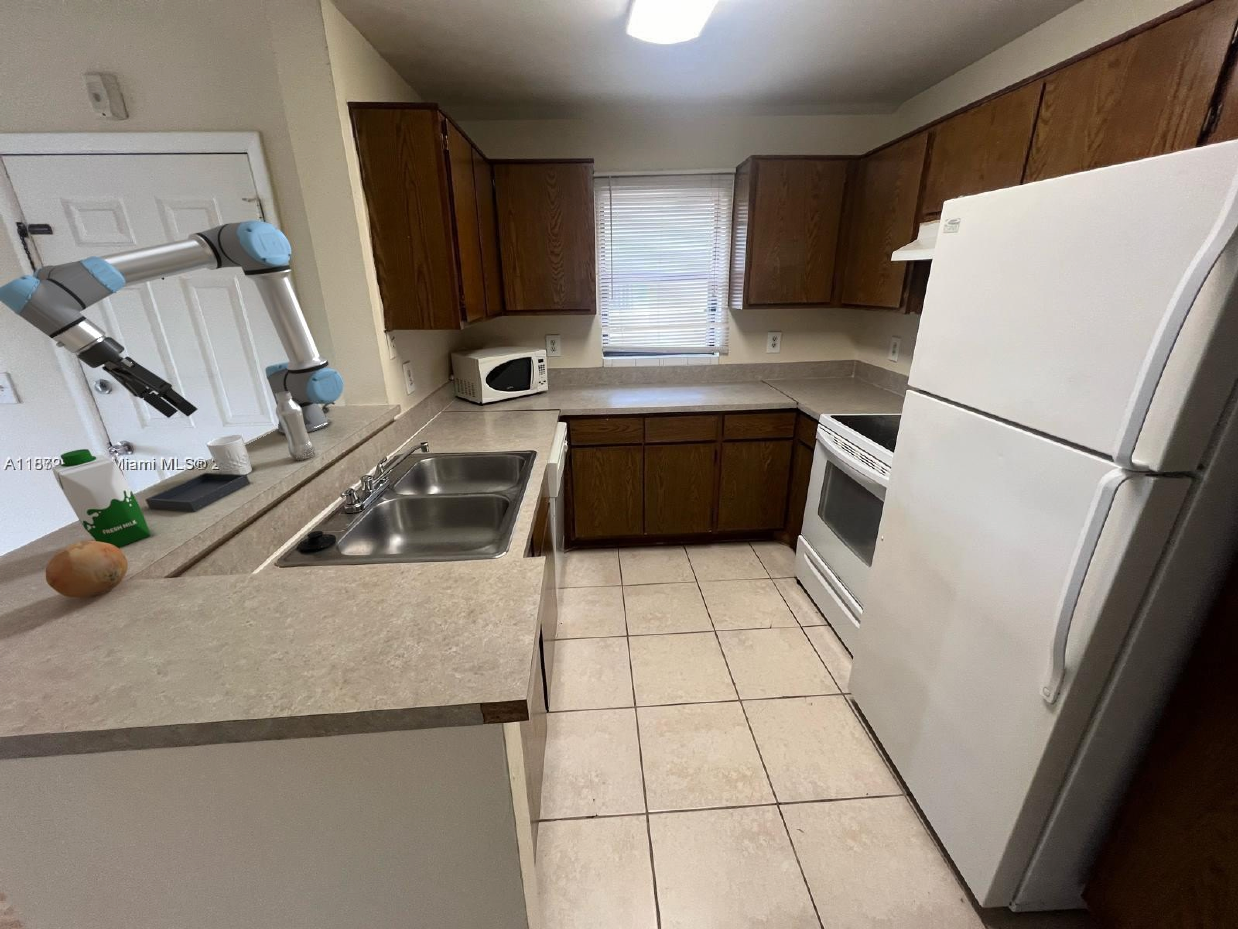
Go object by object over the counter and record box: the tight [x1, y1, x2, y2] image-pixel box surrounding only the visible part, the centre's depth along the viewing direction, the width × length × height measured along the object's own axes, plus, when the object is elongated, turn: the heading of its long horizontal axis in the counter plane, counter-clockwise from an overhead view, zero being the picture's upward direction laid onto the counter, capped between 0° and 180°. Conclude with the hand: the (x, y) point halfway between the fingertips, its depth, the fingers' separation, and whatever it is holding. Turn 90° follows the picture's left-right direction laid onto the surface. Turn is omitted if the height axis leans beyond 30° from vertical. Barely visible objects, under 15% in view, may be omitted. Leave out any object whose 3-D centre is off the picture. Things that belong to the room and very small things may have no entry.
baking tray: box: [144, 472, 251, 513], centre depth 120 cm, size 15×13×3 cm
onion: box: [45, 540, 129, 599], centre depth 84 cm, size 10×10×10 cm
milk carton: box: [51, 448, 152, 549], centre depth 98 cm, size 9×9×20 cm
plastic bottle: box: [275, 391, 316, 461], centre depth 137 cm, size 6×7×20 cm
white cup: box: [206, 434, 253, 475], centre depth 131 cm, size 8×8×10 cm
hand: (182, 413), depth 121 cm, fingers open, 13 cm apart
